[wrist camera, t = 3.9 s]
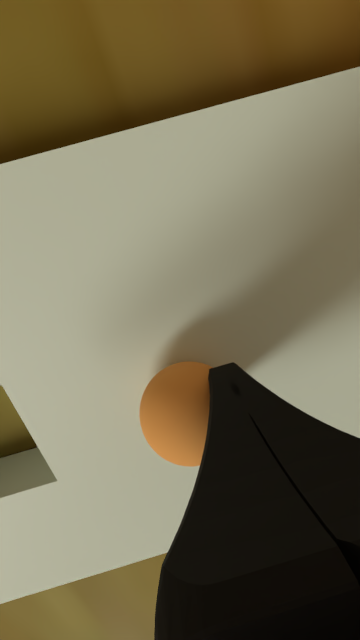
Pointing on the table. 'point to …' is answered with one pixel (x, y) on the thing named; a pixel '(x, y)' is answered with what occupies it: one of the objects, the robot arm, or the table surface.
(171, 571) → the robot arm
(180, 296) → the deck
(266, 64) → the table surface
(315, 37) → the table surface
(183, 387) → the ball
